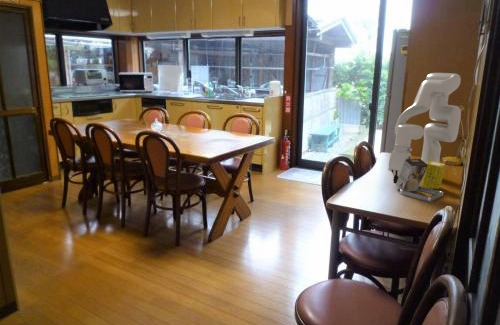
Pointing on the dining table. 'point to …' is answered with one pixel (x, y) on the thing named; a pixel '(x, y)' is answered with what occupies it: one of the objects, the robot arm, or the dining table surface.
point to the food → (433, 175)
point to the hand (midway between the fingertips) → (396, 183)
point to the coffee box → (411, 174)
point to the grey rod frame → (421, 197)
